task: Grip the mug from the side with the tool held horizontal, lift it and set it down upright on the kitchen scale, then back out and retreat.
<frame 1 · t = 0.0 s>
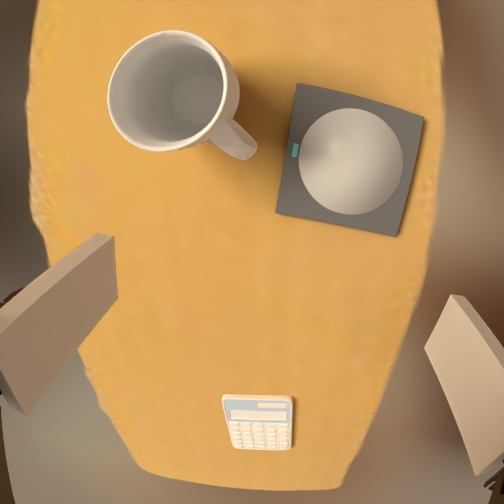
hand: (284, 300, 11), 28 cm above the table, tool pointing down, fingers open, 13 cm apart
mug: (209, 104, 34), on the table
kitchen scale: (351, 161, 35), on the table
calculator: (260, 421, 57), on the table
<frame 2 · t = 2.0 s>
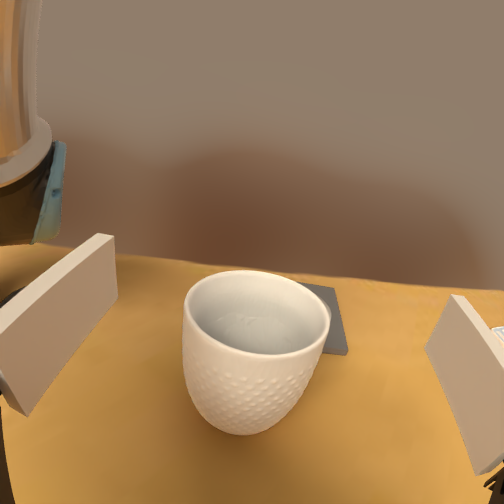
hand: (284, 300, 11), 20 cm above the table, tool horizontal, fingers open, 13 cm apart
mug: (245, 404, 29), on the table
kitchen scale: (287, 312, 45), on the table
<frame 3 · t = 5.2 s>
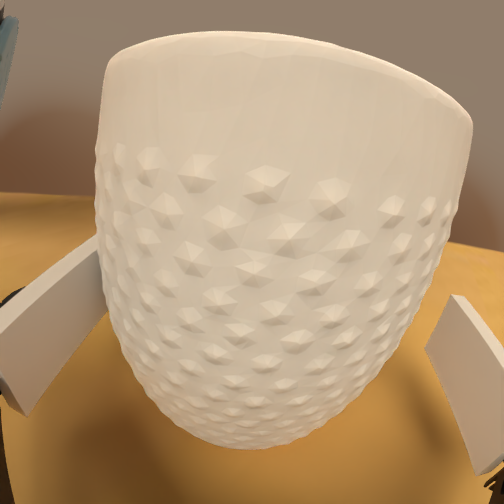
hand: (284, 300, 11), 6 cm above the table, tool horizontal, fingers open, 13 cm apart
mug: (255, 386, 14), on the table, touching gripper
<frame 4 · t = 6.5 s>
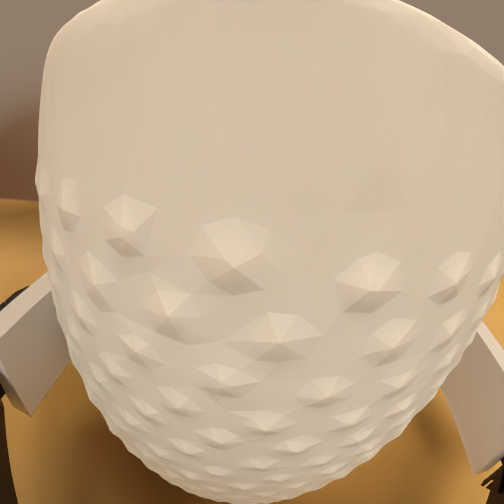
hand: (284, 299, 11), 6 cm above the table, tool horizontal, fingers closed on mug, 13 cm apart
mug: (256, 425, 12), on the table, touching gripper
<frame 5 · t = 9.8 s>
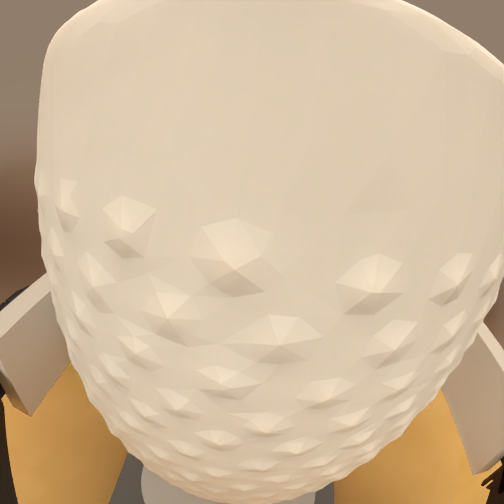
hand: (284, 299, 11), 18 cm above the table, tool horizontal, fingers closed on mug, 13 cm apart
mug: (256, 425, 12), point 12 cm above the table, touching gripper
kitchen scale: (228, 487, 18), on the table
when the fingers open (8 cm above the table, at t = 13.2 s): mug stays where it is, resting on kitchen scale.
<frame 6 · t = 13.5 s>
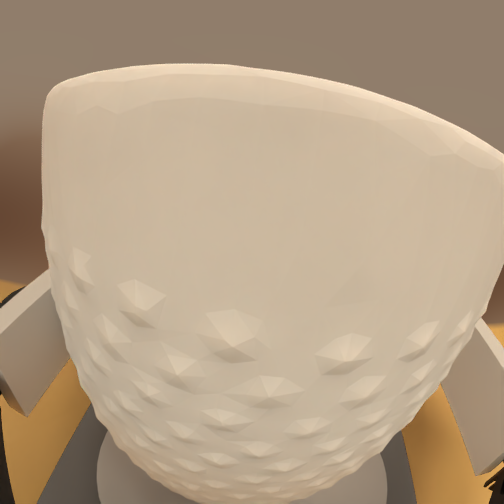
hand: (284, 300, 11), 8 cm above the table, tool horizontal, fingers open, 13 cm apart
mug: (250, 433, 13), point 1 cm above the table, touching kitchen scale, gripper
kitchen scale: (245, 478, 11), on the table
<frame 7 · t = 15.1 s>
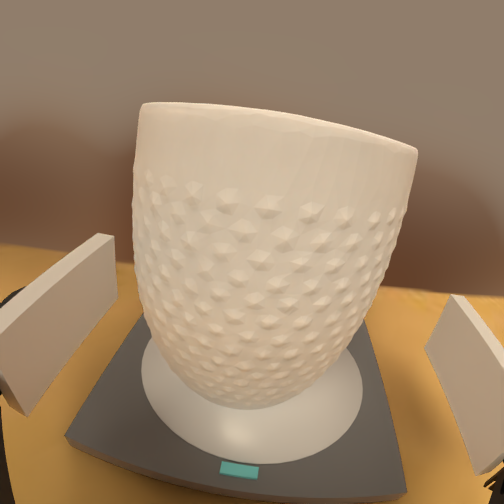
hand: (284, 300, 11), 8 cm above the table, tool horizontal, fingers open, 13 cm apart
mug: (251, 359, 18), point 1 cm above the table, touching kitchen scale
kitchen scale: (253, 377, 17), on the table
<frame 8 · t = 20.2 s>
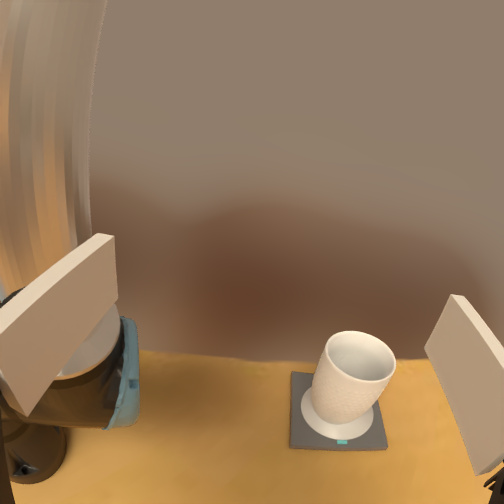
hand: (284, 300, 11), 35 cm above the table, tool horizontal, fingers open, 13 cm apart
mug: (336, 406, 45), point 1 cm above the table, touching kitchen scale
kitchen scale: (336, 412, 45), on the table
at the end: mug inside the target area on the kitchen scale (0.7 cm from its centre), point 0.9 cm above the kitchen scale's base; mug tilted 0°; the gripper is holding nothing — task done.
